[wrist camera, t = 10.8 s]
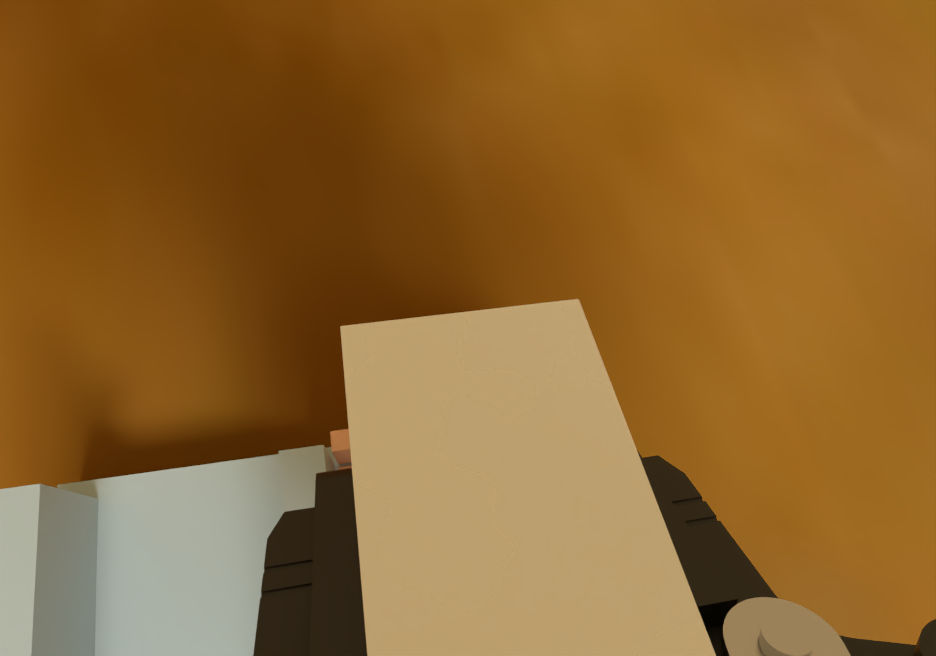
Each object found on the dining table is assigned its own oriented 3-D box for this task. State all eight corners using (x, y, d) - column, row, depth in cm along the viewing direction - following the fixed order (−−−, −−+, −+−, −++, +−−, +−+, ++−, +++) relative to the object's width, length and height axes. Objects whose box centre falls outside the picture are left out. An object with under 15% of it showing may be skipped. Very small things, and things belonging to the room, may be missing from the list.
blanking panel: (580, 831, 14) (762, 775, 6) (413, 871, 13) (385, 864, 6) (515, 551, 18) (578, 298, 10) (382, 574, 17) (340, 325, 9)
